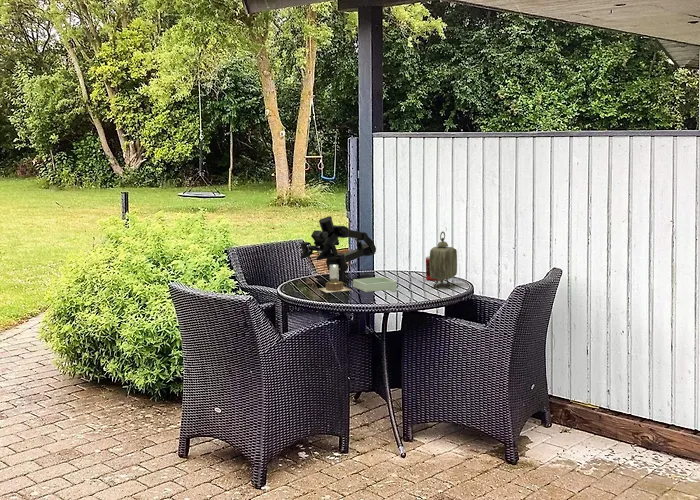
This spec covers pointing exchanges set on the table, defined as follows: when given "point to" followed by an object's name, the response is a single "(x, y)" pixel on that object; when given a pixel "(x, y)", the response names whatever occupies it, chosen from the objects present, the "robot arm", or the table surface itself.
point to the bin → (375, 284)
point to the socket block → (334, 287)
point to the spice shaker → (334, 274)
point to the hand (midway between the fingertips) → (308, 258)
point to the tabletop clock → (443, 262)
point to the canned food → (428, 270)
